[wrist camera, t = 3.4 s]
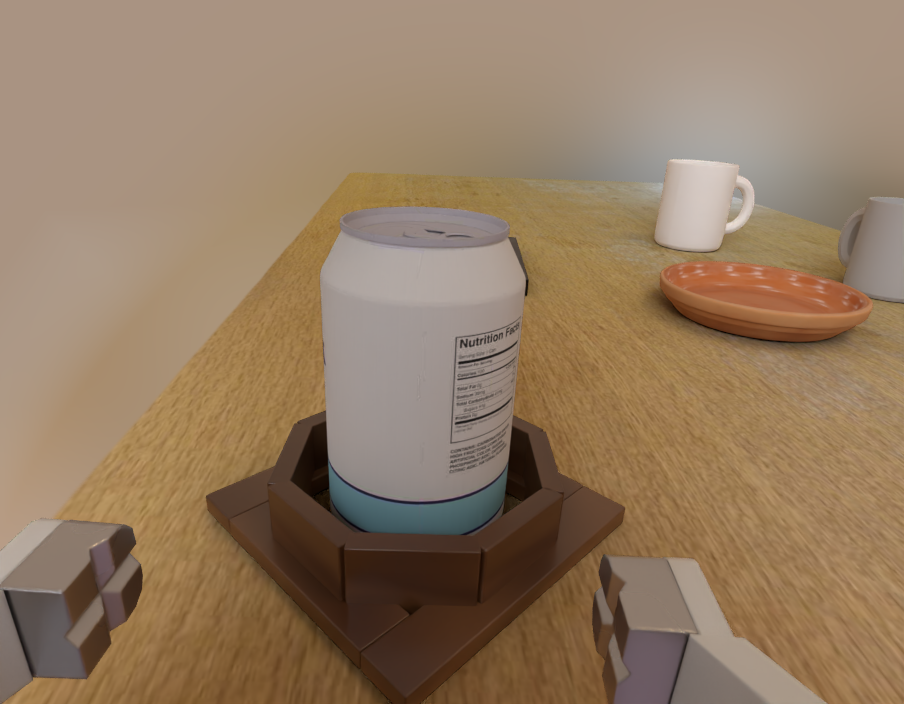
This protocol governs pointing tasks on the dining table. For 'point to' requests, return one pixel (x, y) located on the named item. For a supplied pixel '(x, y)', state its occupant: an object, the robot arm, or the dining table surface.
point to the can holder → (412, 559)
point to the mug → (700, 204)
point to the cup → (875, 249)
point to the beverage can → (420, 368)
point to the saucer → (763, 300)
